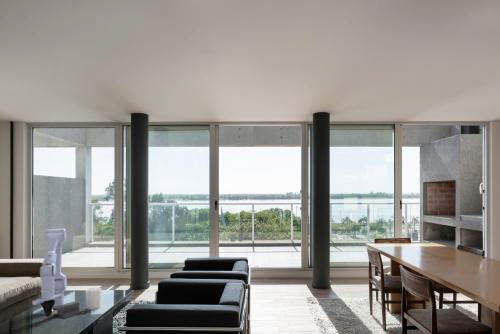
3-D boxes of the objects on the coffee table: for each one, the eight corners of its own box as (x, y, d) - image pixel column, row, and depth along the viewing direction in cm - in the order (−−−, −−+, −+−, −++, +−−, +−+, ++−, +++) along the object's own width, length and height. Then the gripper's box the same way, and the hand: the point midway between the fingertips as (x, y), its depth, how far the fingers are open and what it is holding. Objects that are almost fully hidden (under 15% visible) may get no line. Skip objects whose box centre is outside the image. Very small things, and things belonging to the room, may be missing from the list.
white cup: (95, 309, 201) (95, 290, 202) (82, 309, 203) (82, 290, 204) (104, 305, 209) (104, 287, 210) (91, 305, 211) (91, 287, 212)
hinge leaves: (65, 318, 188) (65, 309, 189) (46, 314, 196) (46, 306, 197) (86, 311, 198) (86, 303, 199) (67, 308, 207) (67, 300, 207)
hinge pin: (52, 317, 189) (52, 310, 189) (48, 317, 191) (48, 309, 191) (77, 310, 201) (77, 303, 201) (73, 309, 203) (73, 302, 203)
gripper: (38, 292, 182) (38, 321, 181) (66, 286, 194) (66, 312, 193) (30, 291, 185) (29, 319, 184) (57, 284, 198) (57, 311, 197)
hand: (47, 316), depth 189 cm, fingers closed
